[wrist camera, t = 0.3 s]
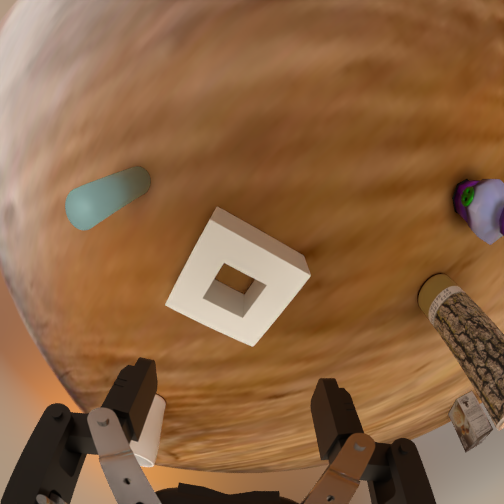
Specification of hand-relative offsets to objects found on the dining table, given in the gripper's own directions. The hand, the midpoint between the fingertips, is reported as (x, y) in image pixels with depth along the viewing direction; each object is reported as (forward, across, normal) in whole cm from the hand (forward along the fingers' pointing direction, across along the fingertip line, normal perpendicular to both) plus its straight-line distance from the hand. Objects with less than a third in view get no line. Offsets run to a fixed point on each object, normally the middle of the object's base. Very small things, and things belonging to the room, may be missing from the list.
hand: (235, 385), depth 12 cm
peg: (+21, +14, -7) cm, 26 cm away
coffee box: (+27, -67, +40) cm, 83 cm away
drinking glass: (+26, +15, +35) cm, 46 cm away
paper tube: (+23, -30, +3) cm, 37 cm away
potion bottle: (+21, -30, -12) cm, 38 cm away
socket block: (+22, +1, +3) cm, 23 cm away
